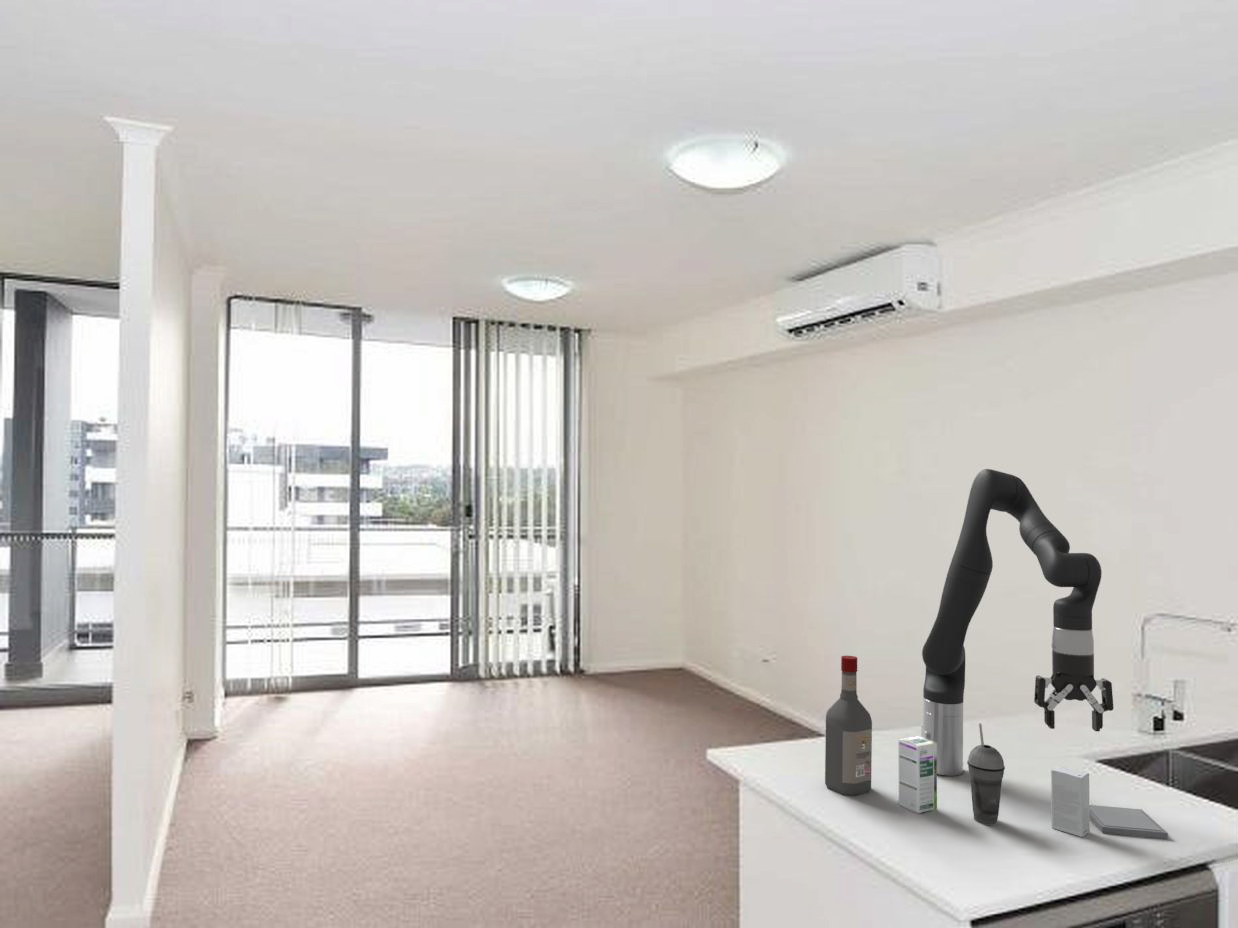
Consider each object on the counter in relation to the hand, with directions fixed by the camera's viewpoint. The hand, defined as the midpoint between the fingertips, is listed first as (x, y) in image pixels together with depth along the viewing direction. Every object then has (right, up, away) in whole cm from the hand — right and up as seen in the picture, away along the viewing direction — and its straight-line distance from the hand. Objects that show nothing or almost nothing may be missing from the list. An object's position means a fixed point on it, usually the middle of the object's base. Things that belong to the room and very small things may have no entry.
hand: (1073, 728), depth 168 cm
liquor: (-41, -20, +20) cm, 50 cm away
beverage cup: (-17, -21, +3) cm, 27 cm away
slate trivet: (+12, -21, +3) cm, 24 cm away
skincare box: (-1, -21, -1) cm, 21 cm away
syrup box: (-29, -20, +10) cm, 36 cm away
